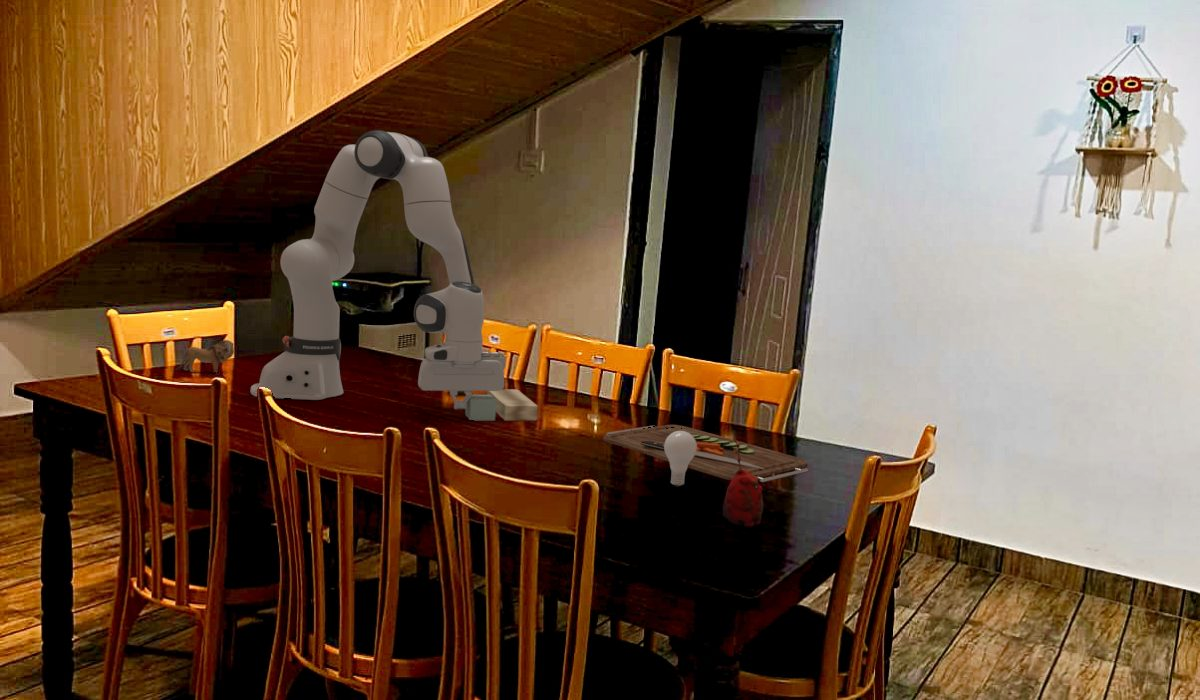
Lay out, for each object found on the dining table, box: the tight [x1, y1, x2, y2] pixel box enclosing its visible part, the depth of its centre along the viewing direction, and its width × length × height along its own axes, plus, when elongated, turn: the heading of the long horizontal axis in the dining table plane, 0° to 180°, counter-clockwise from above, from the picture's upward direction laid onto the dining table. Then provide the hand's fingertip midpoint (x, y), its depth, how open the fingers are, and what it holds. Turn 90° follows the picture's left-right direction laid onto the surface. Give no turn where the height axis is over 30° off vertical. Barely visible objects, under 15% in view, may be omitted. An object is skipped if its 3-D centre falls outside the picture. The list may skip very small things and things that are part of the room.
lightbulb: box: [664, 431, 697, 488], centre depth 201 cm, size 6×6×11 cm
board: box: [486, 388, 539, 421], centre depth 258 cm, size 8×20×4 cm, turn 19°
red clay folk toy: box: [722, 437, 764, 528], centre depth 182 cm, size 8×7×15 cm
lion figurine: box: [175, 339, 235, 373], centre depth 277 cm, size 15×5×9 cm, turn 104°
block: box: [464, 394, 497, 422], centre depth 248 cm, size 6×6×5 cm
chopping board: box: [603, 424, 809, 483], centre depth 231 cm, size 45×27×3 cm, turn 45°
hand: (460, 408), depth 246 cm, fingers closed
